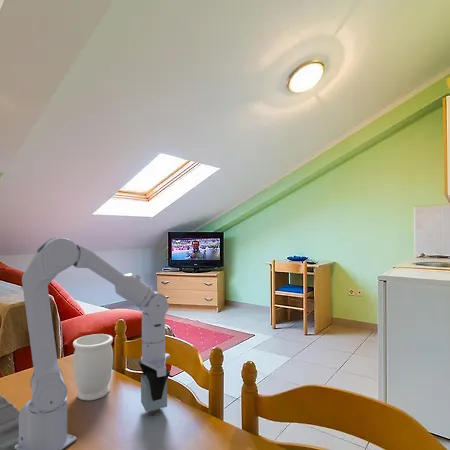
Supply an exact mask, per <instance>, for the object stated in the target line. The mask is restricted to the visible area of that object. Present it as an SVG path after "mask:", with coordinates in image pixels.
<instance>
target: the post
mask: <svg viewBox="0 0 450 450" xmlns="http://www.w3.org/2000/svg"><path fill="white" fill-rule="evenodd" d="M147 413H148V415H149V416H150V417H152V416H156V415H159V414H161V408H160V409H156V410H153V411H149V412H147Z"/></svg>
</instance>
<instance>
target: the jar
mask: <svg viewBox="0 0 450 450" xmlns="http://www.w3.org/2000/svg"><path fill="white" fill-rule="evenodd" d="M113 339H114V337H113V336H112V335H111V334H106V333H105V334H104V333H92V334H89V335H83V336H81V337H78V338H76V339H74V341H73V342H72V346H73V348H74V351H73V359H72V369H73V375H74V381H75V385H76V387H77V389H78V391H77V394H76V396H77V398H78V399H79V400H81V401H95V400H99V399H102V398H104V397H105V396H107V395H108V394H109V392H110V387H109V384H110V380H111V377H112V371H113V367H114V366H113V365H114V351H113V347H112V343H113V341H114V340H113Z"/></svg>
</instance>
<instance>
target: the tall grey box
mask: <svg viewBox="0 0 450 450" xmlns="http://www.w3.org/2000/svg"><path fill="white" fill-rule="evenodd" d="M140 403H141V404H142V406H143V409H144V411H145V412H146V413H148V412H149V411H153V410H156V409H160V410H161V409H164V408H167V407H168V379H167V380H166V383H165V386H164V390H163V395H162V398H161V399H159V400H156V401H153V399H152V396H151V389H150V384H149V380H148V378H147V376H146V375H141V376H140Z"/></svg>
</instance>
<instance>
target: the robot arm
mask: <svg viewBox="0 0 450 450" xmlns="http://www.w3.org/2000/svg"><path fill="white" fill-rule="evenodd" d="M70 267H75V268H76V269H88V270H90V271H91V272H93V273H94V274H96V275H98V276H100V277H101V278H102V279H105V280H106V281H107V282H109V283H111V284H112V285H114V288H115V289H114V290H115V293H116V295H118V296H120V297H121V298H123V299H124V300H126V301H127V302H129V303H130V304H132V305H133V306H135V307H137V308H138V309H139V310H140V311H142V312H141V357H140V360H139V361H138V363H137V364H138V365H139V366H140V369H141V371H142V374H143V375H146V376H147V378H148V380H149V384H150V389H151V396H152V399H153V401H156V400H159V399H161V398H162V395H163V390H164V386H165V383H166V380H167V381H168V379H169V376H170V374H171V371H170V370H169V368H167V366H166V361H167V360H168V359H170V358H171V355H170V354H169V353H167V352H166V314H167V312H168V310H169V308H170V303H169V302H168V300H167V297H166V296H165V295H164V294H163V293H160V292H158V291H156V287H155V286H154V285H149V284H147V283H146V282H144V281H143V280H141V278H142V277H141V275H139V274H137V273H134V274H133V273H131V272H130V273H124V274H123V273H122V272H120V271H119V270H118V269H117V268H115V267H113V266H112V265H111V264H110V263H108V262H107V261H106V260H104V259H103V258H101V257H100V256H99V255H97V254H96V253H95V252H94V251H91V250H90V249H87V248H86V247H83V246H81V245H80V244H76V243H75V242H74V241H72V240H71V239H68V238H64V237H59V236H56V237H52V238H50V239H48V240H46V241H45V242H44V243H43V244H42V245H40V246H39V247H38V248H37V249H36V251H35V253H34V255H33V257H32V259H31V260H30V262H29V264H28V266H27V267H26V269H25V271H24V273H23V274H22V277H21V285H22V291H23V300H24V305H25V314H26V321H27V328H28V329H27V330H28V337H29V344H30V345H29V346H30V350H31V351H30V352H31V360H32V368H33V372H32V375H31V377H30V388H31V394H32V395H31V399H29V400H28V401H26V403H24V405H22V408H21V409H20V412H19V414H18V443H17V444H15V445H14V450H64V449H65V448H66V447H68V446H69V445H71V444H72V443H74V442H75V441H76V440H77V437H76V436H74V435H73V434H69V433H68V387H67V385H66V383H65V380H64V377H63V371H62V370H61V368H60V366H59V362H58V355H57V349H56V347H57V346H56V340H55V331H54V325H53V324H54V323H53V317H52V309H51V300H50V293H49V284H51V282H52V281H53V280H54V279H55V278H56V277H57V276H58V274H60V273H62V272H64V271H65V270H67V269H69V268H70ZM143 375H142V376H143Z"/></svg>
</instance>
